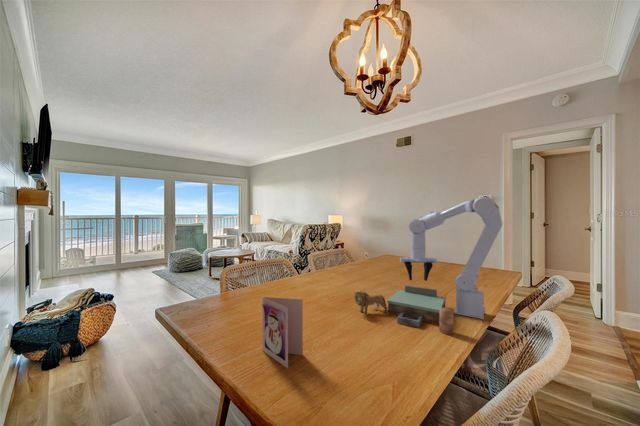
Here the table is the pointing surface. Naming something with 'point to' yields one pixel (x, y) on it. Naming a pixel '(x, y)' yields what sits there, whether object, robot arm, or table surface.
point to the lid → (418, 298)
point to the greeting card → (282, 328)
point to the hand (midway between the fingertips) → (418, 279)
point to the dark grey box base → (413, 315)
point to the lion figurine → (369, 300)
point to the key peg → (446, 321)
